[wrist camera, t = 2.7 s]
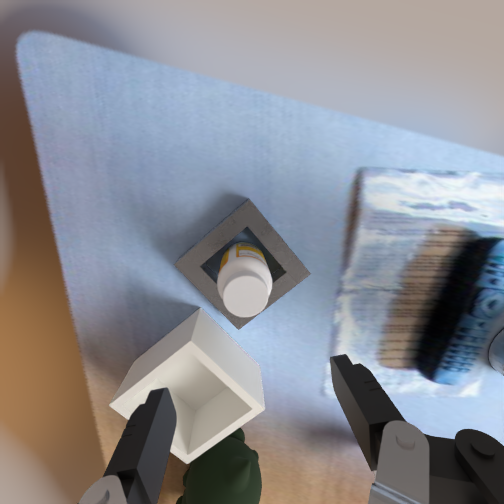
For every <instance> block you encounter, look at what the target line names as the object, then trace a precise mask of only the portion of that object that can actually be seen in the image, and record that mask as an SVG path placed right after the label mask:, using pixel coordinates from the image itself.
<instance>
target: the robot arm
mask: <svg viewBox="0 0 504 504" xmlns="http://www.w3.org/2000/svg"><path fill="white" fill-rule="evenodd" d="M489 361H490V363H491V366H492V367H493V368H494V369H495V370H496V371H498V372H499V373H501V374H502V375H503V376H504V329H503V330H502V331H501V332H500V333H499V334H498V335H497V336H496V338H495V339H494V341H493V342H492V344H491V347H490V350H489ZM330 364H331V374H332V383H333V387H334V391H335V394H336V396H337V399H338V401H339V403H340V405H341V407H342V409H343V411H344V414H345V416H346V418H347V420H348V422H349V424H350V426H351V429H352V431H353V433H354V435H355V437H356V439H357V441H358V444H359V446H360V448H361V450H362V452H363V454H364V456H365V459H366V461H367V463H368V465H369V467H370V469H371V471H376V470H377V472H376V478H375V482H374V484H372V486H371V490H370V495H369V501H368V504H504V446H503V445H502V444H501V443H500V442H498V441H497V440H496V439H494V438H493V437H491V436H489V435H488V434H485V433H483V432H481V431H478V430H473V429H463V430H460V431H459V432H458V433H457V434H456V436H455V439H449V438H441V437H434V436H429V435H426V434H424V433H422V432H421V431H420V430H419V429H418V428H417V427H415V426H414V425H412V424H410V423H408V422H406V420H405V419H404V418H403V417H402V415H401V414H400V412H399V411H398V409H397V408H396V407H395V405H394V404H393V402H392V401H391V400H390V398H389V397H388V395H387V394H386V393H385V391H384V390H383V389H382V387H381V385H380V384H379V383H378V382H377V380H376V378H375V377H374V376H373V374H372V373H371V371H370V370H369V369H367V368H366V367H364V366H363V365H362V364H360V363H359V364H354V365H353V364H352V362H351V361H350V359H349V358H348V356H347V355H346V354H343V355H338V356H333V357H330ZM176 424H177V414H176V410H175V407H174V403H173V400H172V397H171V394H170V391H169V389H168V388H167V387H165V388H160V389H155V390H151V391H150V392H149V394H148V397H147V399H146V402H145V404H140V405H139V406H138V407H137V408H136V410H135V411H134V412H133V413H132V414H131V416H130V418H129V420H128V423H127V425H126V429H124V431H123V434H122V436H121V439H120V440H119V442H118V445H117V447H116V449H115V451H114V453H113V456H112V458H111V460H110V462H109V465H108V467H107V469H106V471H105V473H104V475H103V477H102V478H101V479H99V480H98V481H96V482H95V483H94V484H93V485H92V486H91V487H90V488H89V489H88V490H87V491H86V492H85V494H84V495H83V496H82V498H81V500H80V502H79V503H78V504H157V502H158V498H159V494H160V490H161V486H162V482H163V478H164V474H165V469H166V465H167V461H168V457H169V453H170V449H171V445H172V441H173V437H174V433H175V429H176Z"/></svg>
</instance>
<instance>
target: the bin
mask: <svg viewBox="0 0 504 504" xmlns="http://www.w3.org/2000/svg"><path fill="white" fill-rule="evenodd" d="M165 387H167V388H168V389H169V391H170V394H171V397H172V400H173V403H174V407H175V410H176V414H177V424H176V429H175V433H174V437H173V441H172V445H171V449H170V452H171V453H173V454H174V455H175V456H177V457H178V458H179V459H181V460H182V461H183V462H185V463H186V464H188V463H190V462H191V461H193V460H194V459H195V458H197V457H198V456H200V455H201V454H203V453H204V452H205V451H207V450H208V449H210V448H211V447H212V446H214V445H215V444H217V443H218V442H220V441H221V440H222V439H224V438H225V437H227V436H228V435H229V434H231V433H232V432H234V431H235V430H237V429H238V428H239V427H241V426H242V425H244V424H245V423H246V422H248V421H249V420H251V419H252V418H254V417H255V416H256V415H258V414H259V413H261V412H262V411H263V410H265V403H264V395H263V387H262V378H261V370H260V365H259V364H258V363H257V362H256V361H255V360H254V359H253V358H252V357H251V356H250V355H249V354H248V353H247V352H246V351H245V350H244V349H243V348H242V347H241V346H240V345H239V344H238V343H237V342H236V341H234V340H233V339H232V338H231V337H230V336H229V335H228V334H227V333H226V332H225V331H224V330H223V329H222V328H221V327H220V326H219V325H218V324H217V323H216V322H215V321H214V320H213V319H212V318H211V317H210V316H209V315H208V314H207V313H206V312H205V311H204V310H203V309H202V308H201V307H200V308H199V309H198V310H197V311H195V312H194V313H193V314H192V315H191V316H189V317H188V318H187V319H186V320H184V321H183V322H182V323H181V324H179V325H178V326H177V327H176V328H174V329H173V330H172V331H171V332H170V333H168V334H167V335H166V336H165V337H163V338H162V339H161V340H160V341H158V342H157V343H156V344H155V345H153V346H152V347H151V348H150V349H149V350H147V351H146V352H145V353H144V354H142V355H141V356H140V357H139V358H137V359H136V360H135V361H134V363H133V364H132V366H131V368H130V370H129V371H128V373H127V375H126V376H125V378H124V380H123V382H122V383H121V385H120V387H119V389H118V390H117V392H116V394H115V396H114V397H113V399H112V401H111V402H110V404H109V406H110V407H112V408H113V409H114V410H116V411H117V412H118V413H120V414H121V415H122V416H123V417H125V418H126V419H127V420H129V418H130V416H131V414H132V413H133V412H134V411H135V410H136V408H137V407H138V406H139V405H140V404H145V402H146V399H147V397H148V394H149V392H150V391H151V390H155V389H160V388H165Z"/></svg>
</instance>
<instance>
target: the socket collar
mask: <svg viewBox="0 0 504 504" xmlns="http://www.w3.org/2000/svg"><path fill="white" fill-rule="evenodd" d="M247 226H248V228H249V229H250V230H251V231H252V232H253V233H254V235H255V236H256V237H257V238H258V239H259V240H260V242H261V243H262V244H263V245H264V246H265V247H266V249H267V250H268V251H269V252H270V253H271V254H272V256H273V257H274V258H275V259H276V260H277V262H278V263H279V264H280V265H281V266H282V267H280V268H279V269H278V270H277V271H275V272H274V273H273V274H272V275H271V277H272V290H271V293H270V295H269V297H268V302H267V305H266V306H265V308H264V309H263V310H262V311H264V310H265V309H266V308H268V307H269V306H270V305H271V304H273V303H274V302H275V301H277V300H278V299H279V298H280V297H282V296H283V295H284V294H286V293H287V292H288V291H289V290H291V289H292V288H293V287H295V286H296V285H297V284H299V283H300V282H301V281H302V280H304V279H305V278H306V277H308V276H309V275H310V272H309V271H308V270H307V269H306V267H305V266H304V265H303V264H302V262H301V261H300V260H299V259H298V258H297V256H296V255H295V254H294V253H293V252H292V250H291V249H290V248H289V247H288V245H287V244H286V243H285V242H284V241H283V239H282V238H281V237H280V236H279V234H278V233H277V232H276V231H275V230H274V228H273V227H272V226H271V225H270V224H269V222H268V221H267V220H266V219H265V217H264V216H263V215H262V214H261V213H260V211H259V210H258V209H257V208H256V206H255V205H254V204H253V203H252V202H251V200H250V199H247V200H246V201H245V202H244V203H243V204H242V205H240V206H239V207H238V208H237V209H236V210H235V211H233V212H232V213H231V214H230V215H229V216H228V217H226V218H225V219H224V220H223V221H222V222H221V223H219V224H218V225H217V226H216V227H215V228H214V229H212V230H211V231H210V232H209V233H208V234H207V235H205V236H204V237H203V238H202V239H201V240H200V241H198V242H197V243H196V244H195V245H194V246H193V247H191V248H190V249H189V250H188V251H187V252H186V253H184V254H183V255H182V256H181V257H180V258H179V259H178V260H177V261H176V263H175V264H174V265H175V266H176V267H177V268H178V269H179V270H180V271H181V272H182V273H183V274H184V275H185V277H186V278H187V279H188V280H189V281H190V282H191V283H192V284H193V285H194V286H195V287H196V288H197V289H198V290H199V291H200V292H201V293H202V294H203V295H204V296H205V297H206V298H207V299H208V300H209V301H210V302H211V303H212V304H213V305H214V306H215V307H216V308H217V309H218V310H219V311H220V312H221V313H222V314H223V315H224V316H225V317H226V318H227V319H228V320H229V321H230V322H231V323H232V324H233V325H234V326H235V327H236V328H237V329H238V330H239V329H240V328H242V327H243V326H244V325H246V324H247V323H248V322H249V321H251V320H252V319H253V318H255V317H256V316H257V315H258V314H260V313H261V312H262V311H261V312H260V313H258V314H257V315H255V316H252V317H239V316H236V315H234V314H232V313H231V312H229V311H228V310H227V308H226V307H225V305H224V302H223V299H222V298H221V296H220V294H219V292H218V287H217V280H218V276H217V274H216V273H215V272H214V271H213V270H212V269H211V268H210V267H209V266H208V265H207V264H206V263H205V262H206V261H207V260H208V259H209V258H210V257H212V256H213V255H214V254H215V253H216V252H218V251H219V250H220V249H221V248H222V247H224V246H225V245H226V244H227V243H228V242H229V241H231V240H232V239H233V238H234V237H235V236H237V235H238V234H239V233H240V232H241V231H243V230H244V229H245V228H246V227H247Z"/></svg>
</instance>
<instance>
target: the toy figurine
mask: <svg viewBox="0 0 504 504" xmlns="http://www.w3.org/2000/svg"><path fill="white" fill-rule="evenodd" d="M244 441H245V436H244V432H243V430H242V429H241V428H238V429H237V430H235V431H234V432H232V433H231V434H229V435H228V436H227V437H225V438H224V439H222V440H221V441H220V442H218V443H217V444H215V445H214V446H212V447H211V448H210V449H208V450H207V451H205V452H204V453H203V454H201V455H200V456H198V457H197V458H195V459H194V460H193V461H191V462H190V470H188V471H187V472H186V473H185V475H184V476H183V485H184V486H185V487H186V489H185V491H184V494H183V496H181V497H179V498H178V500H177V502H176V504H259V501H260V496H261V488H262V482H261V473H260V468H259V464H258V458H259V457H258V453H257V452H256V451H255V450H251V449H250V448H249V447H248V446H247V445H246V444H245V443H244Z"/></svg>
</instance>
